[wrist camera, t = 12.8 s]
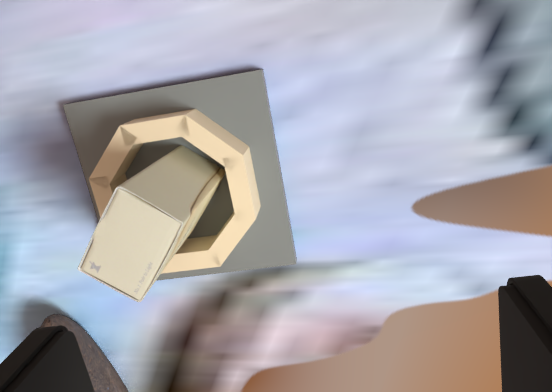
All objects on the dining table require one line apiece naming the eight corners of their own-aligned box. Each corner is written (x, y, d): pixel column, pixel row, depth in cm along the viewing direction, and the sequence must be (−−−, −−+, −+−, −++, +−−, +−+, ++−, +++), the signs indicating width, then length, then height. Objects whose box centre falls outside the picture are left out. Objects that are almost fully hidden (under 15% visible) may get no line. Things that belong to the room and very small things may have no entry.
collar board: (262, 69, 36) (255, 72, 32) (296, 258, 41) (293, 281, 37) (69, 103, 38) (41, 110, 34) (122, 279, 43) (103, 302, 39)
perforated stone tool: (41, 307, 45) (-7, 353, 38) (89, 293, 44) (48, 337, 37) (109, 429, 49) (77, 490, 42) (155, 418, 48) (128, 479, 41)
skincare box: (193, 230, 40) (140, 308, 28) (146, 203, 39) (73, 272, 28) (228, 168, 38) (186, 225, 26) (179, 139, 37) (115, 184, 26)
